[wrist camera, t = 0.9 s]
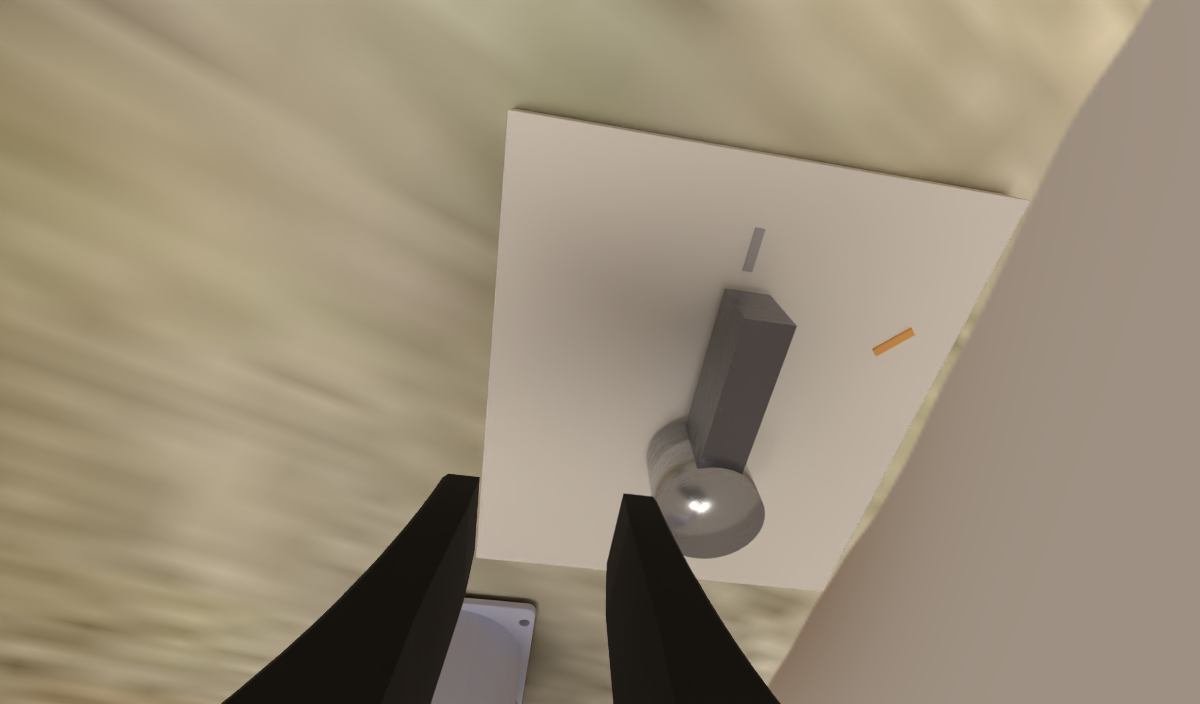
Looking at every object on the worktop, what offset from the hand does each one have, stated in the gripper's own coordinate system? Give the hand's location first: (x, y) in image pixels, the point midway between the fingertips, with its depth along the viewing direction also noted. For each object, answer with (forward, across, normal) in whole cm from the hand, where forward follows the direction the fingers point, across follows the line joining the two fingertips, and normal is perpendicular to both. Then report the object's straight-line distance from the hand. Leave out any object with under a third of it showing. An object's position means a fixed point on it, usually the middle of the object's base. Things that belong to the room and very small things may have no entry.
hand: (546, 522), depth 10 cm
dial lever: (+8, -6, +1) cm, 10 cm away
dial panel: (+9, -6, +2) cm, 11 cm away
